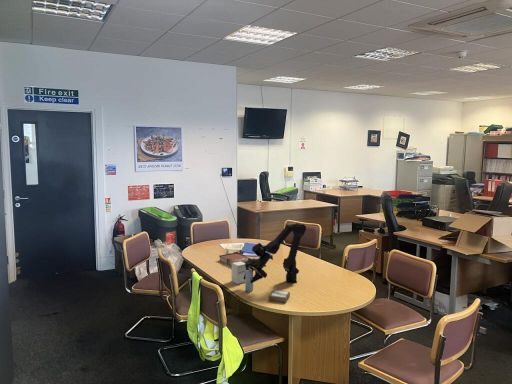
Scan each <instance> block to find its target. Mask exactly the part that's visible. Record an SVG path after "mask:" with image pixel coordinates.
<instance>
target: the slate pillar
mask: <svg viewBox="0 0 512 384" xmlns="http://www.w3.org/2000/svg"><path fill="white" fill-rule="evenodd" d="M253 277H254V271H252V270H246V271H245V282H244V283H245V287H244V289H245V290H244V291H245V292H246V293H253V292H254V282H253V283H250V282H251V280H252V278H253ZM252 291H253V292H252Z"/></svg>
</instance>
